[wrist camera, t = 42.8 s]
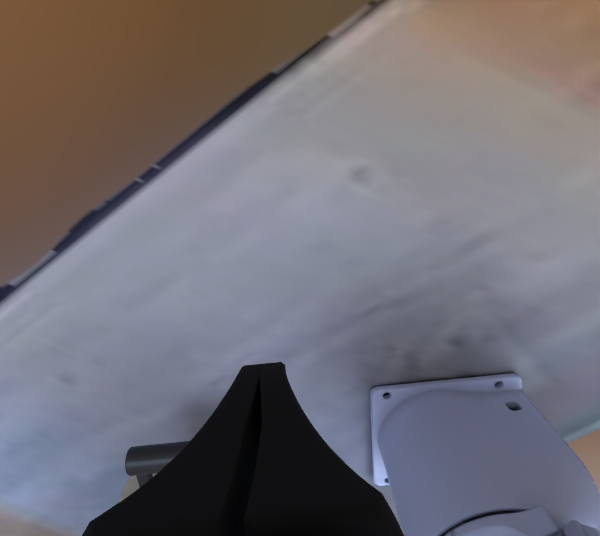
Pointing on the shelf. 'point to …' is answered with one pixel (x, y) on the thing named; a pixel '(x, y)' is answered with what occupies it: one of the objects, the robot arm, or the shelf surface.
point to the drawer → (148, 463)
